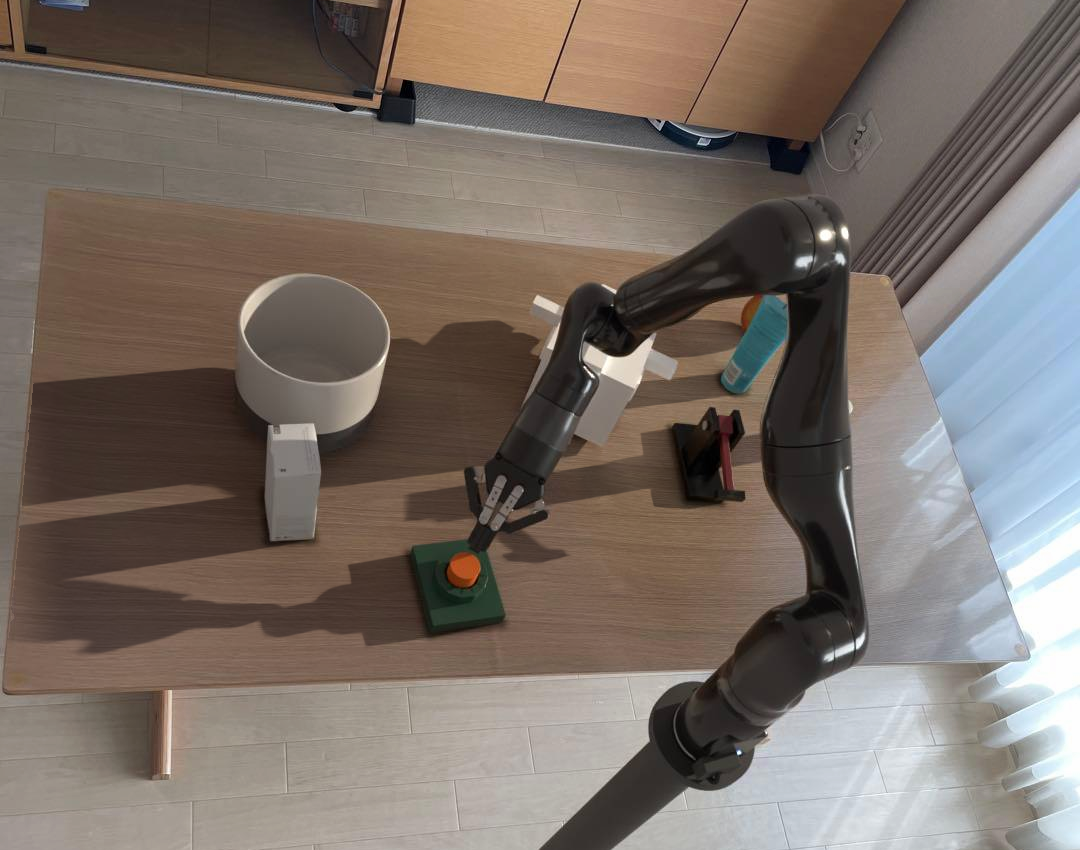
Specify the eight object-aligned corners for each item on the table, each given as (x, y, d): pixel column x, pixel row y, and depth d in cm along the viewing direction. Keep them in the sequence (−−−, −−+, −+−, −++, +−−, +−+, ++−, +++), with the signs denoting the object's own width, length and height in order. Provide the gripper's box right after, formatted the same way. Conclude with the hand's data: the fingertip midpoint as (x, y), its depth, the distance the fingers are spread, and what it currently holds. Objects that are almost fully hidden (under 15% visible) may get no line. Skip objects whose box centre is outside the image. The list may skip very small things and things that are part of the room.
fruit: (781, 336, 182) (802, 305, 175) (758, 356, 177) (779, 325, 171) (748, 309, 183) (767, 278, 177) (724, 328, 179) (744, 296, 172)
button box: (502, 622, 134) (509, 608, 131) (429, 633, 130) (435, 619, 127) (479, 545, 139) (486, 530, 136) (409, 553, 136) (414, 538, 132)
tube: (756, 387, 173) (811, 309, 157) (745, 402, 170) (800, 325, 154) (720, 363, 173) (771, 283, 158) (709, 378, 171) (759, 298, 155)
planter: (355, 356, 152) (372, 271, 138) (385, 459, 143) (405, 380, 129) (223, 363, 144) (226, 274, 130) (245, 473, 135) (251, 390, 121)
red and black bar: (740, 503, 149) (747, 497, 146) (712, 501, 147) (719, 495, 145) (731, 423, 153) (738, 416, 151) (704, 420, 152) (711, 413, 150)
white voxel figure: (671, 362, 173) (632, 469, 154) (540, 300, 172) (485, 400, 154) (707, 297, 162) (670, 404, 143) (567, 231, 161) (512, 330, 143)
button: (479, 586, 132) (483, 576, 130) (450, 590, 130) (454, 580, 128) (471, 560, 133) (476, 550, 131) (443, 563, 132) (446, 553, 130)
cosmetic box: (313, 540, 133) (325, 477, 121) (266, 542, 130) (273, 478, 119) (306, 487, 137) (317, 421, 125) (261, 489, 135) (267, 422, 123)
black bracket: (721, 503, 156) (755, 459, 147) (686, 500, 154) (718, 456, 145) (704, 431, 163) (736, 385, 154) (671, 428, 162) (700, 381, 152)
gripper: (490, 409, 125) (424, 528, 127) (582, 462, 124) (514, 581, 126) (499, 409, 132) (436, 522, 134) (586, 459, 131) (521, 572, 134)
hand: (474, 550), depth 130 cm, fingers closed
